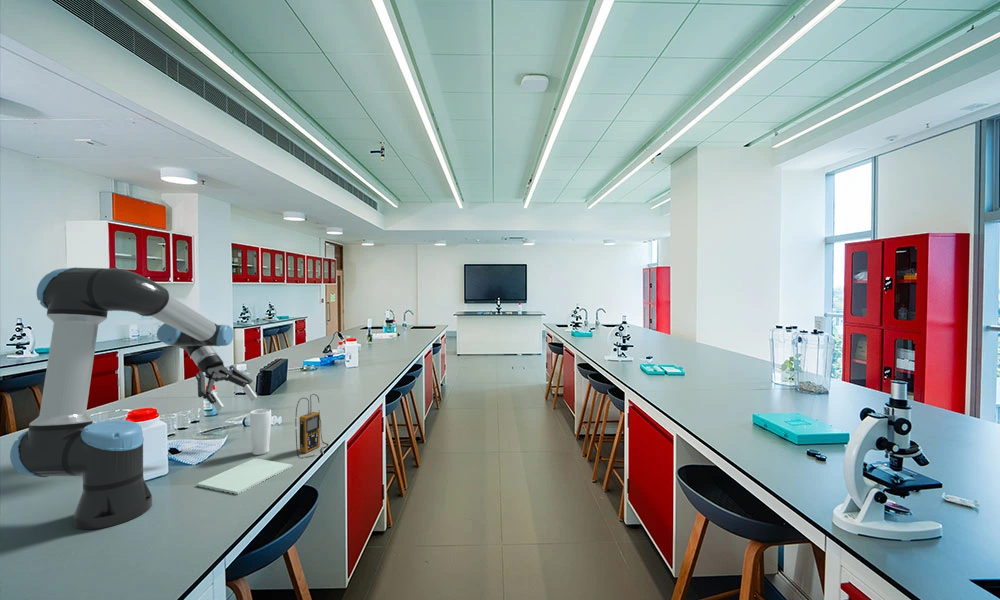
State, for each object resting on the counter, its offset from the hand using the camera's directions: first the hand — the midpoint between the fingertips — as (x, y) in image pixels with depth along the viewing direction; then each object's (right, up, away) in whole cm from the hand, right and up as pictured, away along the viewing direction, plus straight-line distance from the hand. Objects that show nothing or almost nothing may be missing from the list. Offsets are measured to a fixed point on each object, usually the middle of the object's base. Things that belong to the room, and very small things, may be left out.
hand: (238, 404), depth 155 cm
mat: (+16, -17, -22) cm, 32 cm away
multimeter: (+29, -17, -1) cm, 34 cm away
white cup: (+10, -17, -3) cm, 20 cm away
